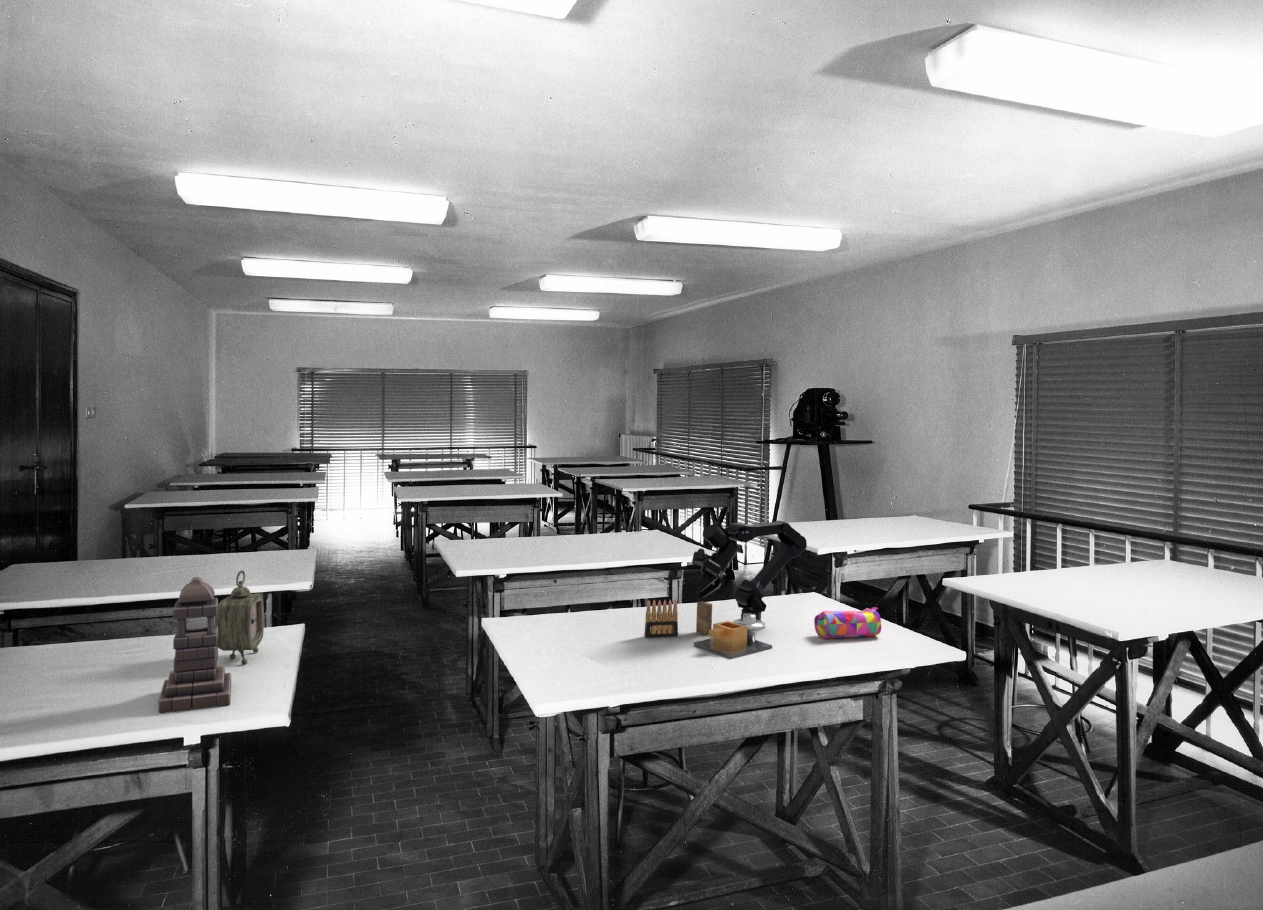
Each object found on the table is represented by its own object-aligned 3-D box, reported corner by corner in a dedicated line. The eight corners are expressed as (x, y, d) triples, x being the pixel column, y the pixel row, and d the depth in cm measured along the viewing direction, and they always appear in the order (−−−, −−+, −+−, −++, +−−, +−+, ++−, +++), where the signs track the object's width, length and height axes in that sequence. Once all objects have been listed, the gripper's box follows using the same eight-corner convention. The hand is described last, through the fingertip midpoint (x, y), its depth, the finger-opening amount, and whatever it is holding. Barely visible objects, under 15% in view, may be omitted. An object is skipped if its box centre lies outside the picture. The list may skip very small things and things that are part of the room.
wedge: (701, 631, 270) (702, 601, 270) (711, 634, 267) (712, 603, 266) (696, 632, 269) (697, 602, 268) (705, 635, 265) (706, 604, 264)
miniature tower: (164, 691, 205) (163, 572, 203) (231, 684, 211) (230, 568, 209) (158, 714, 190) (156, 586, 188) (230, 705, 196) (229, 581, 194)
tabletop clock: (249, 666, 224) (248, 576, 223) (213, 667, 223) (213, 576, 221) (264, 650, 239) (263, 565, 237) (230, 651, 237) (230, 565, 235)
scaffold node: (740, 634, 267) (741, 607, 267) (778, 646, 255) (779, 618, 254) (693, 645, 254) (694, 616, 253) (731, 658, 242) (732, 628, 241)
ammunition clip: (676, 635, 265) (677, 598, 264) (678, 636, 263) (679, 599, 262) (644, 636, 263) (645, 599, 262) (645, 638, 261) (646, 600, 260)
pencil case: (866, 630, 276) (868, 603, 276) (884, 638, 268) (885, 610, 267) (811, 635, 269) (812, 608, 268) (827, 643, 260) (828, 615, 259)
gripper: (702, 551, 278) (677, 589, 274) (702, 534, 261) (675, 574, 257) (731, 569, 275) (706, 607, 271) (732, 552, 258) (705, 593, 254)
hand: (697, 595), depth 263 cm, fingers open, 9 cm apart
